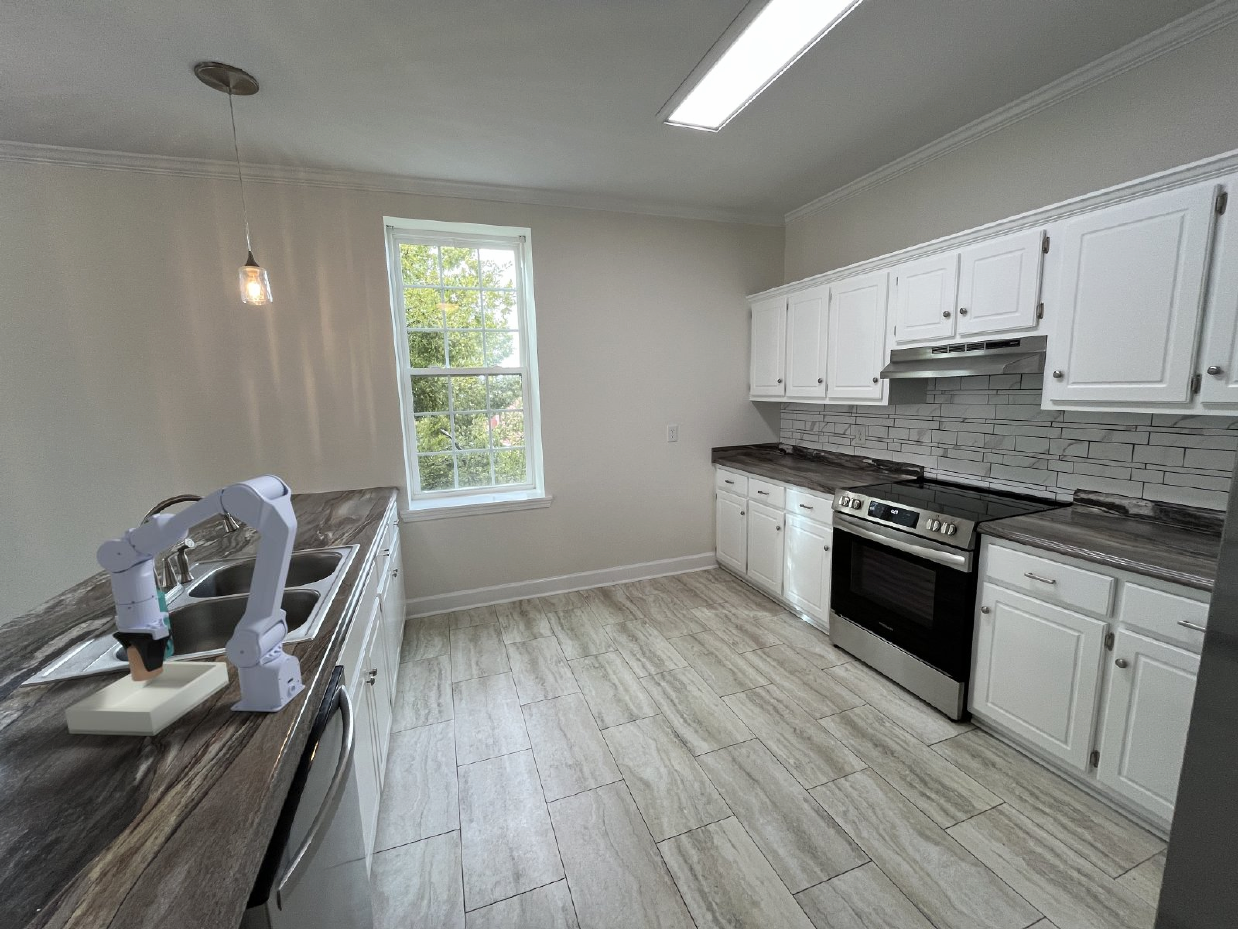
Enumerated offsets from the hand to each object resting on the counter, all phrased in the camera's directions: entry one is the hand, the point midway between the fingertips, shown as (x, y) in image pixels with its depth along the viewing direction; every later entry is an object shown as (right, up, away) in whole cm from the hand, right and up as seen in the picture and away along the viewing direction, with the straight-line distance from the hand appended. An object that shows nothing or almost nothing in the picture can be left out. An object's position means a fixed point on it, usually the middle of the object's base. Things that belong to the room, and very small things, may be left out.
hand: (148, 666), depth 96 cm
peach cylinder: (0, -2, 0) cm, 2 cm away
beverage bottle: (-14, -6, +17) cm, 23 cm away
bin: (0, -8, +1) cm, 8 cm away
